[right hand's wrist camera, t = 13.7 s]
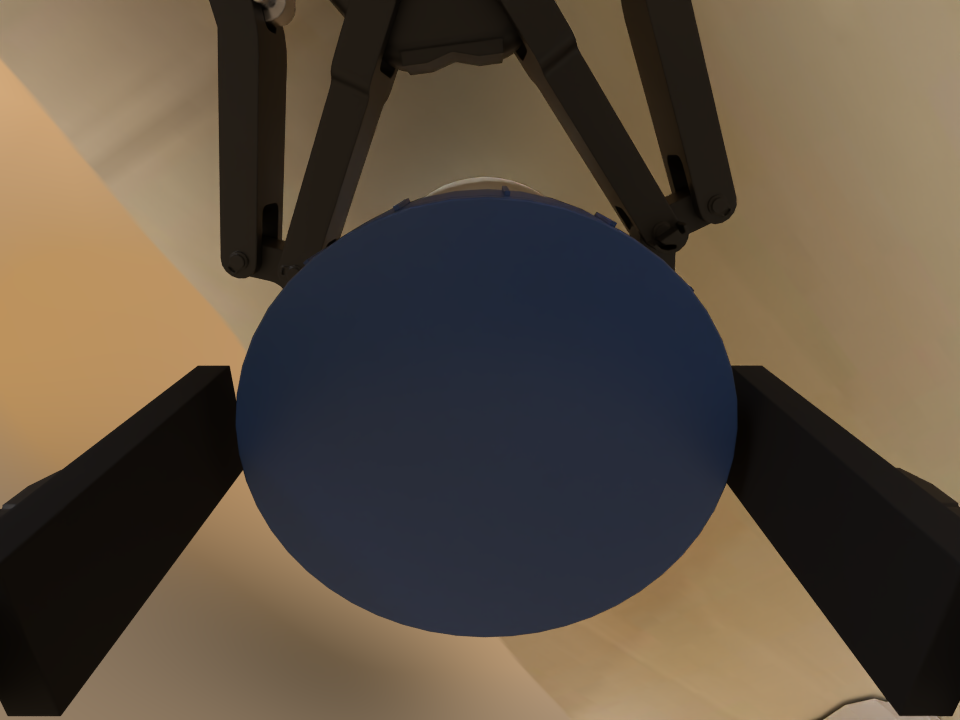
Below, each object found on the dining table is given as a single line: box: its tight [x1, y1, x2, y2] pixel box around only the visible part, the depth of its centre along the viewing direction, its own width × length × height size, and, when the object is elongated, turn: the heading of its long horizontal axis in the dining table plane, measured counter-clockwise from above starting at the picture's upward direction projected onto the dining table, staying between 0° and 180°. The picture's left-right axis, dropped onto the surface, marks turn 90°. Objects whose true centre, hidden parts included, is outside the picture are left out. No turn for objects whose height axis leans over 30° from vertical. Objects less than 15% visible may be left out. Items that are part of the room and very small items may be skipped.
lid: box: [236, 186, 738, 637], centre depth 12 cm, size 11×11×2 cm
